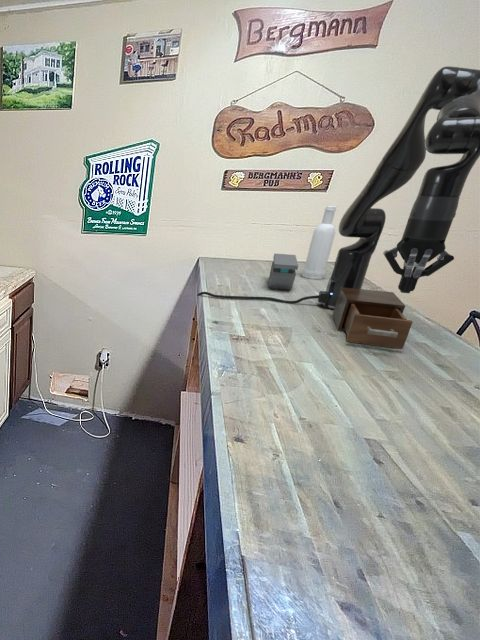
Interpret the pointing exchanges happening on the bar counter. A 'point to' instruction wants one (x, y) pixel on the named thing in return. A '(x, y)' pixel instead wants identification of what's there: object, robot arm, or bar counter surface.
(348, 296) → the cabinet
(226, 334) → the bar counter surface
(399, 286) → the robot arm
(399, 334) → the drawer
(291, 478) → the bar counter surface
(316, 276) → the bottle
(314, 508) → the bar counter surface
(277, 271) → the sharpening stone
